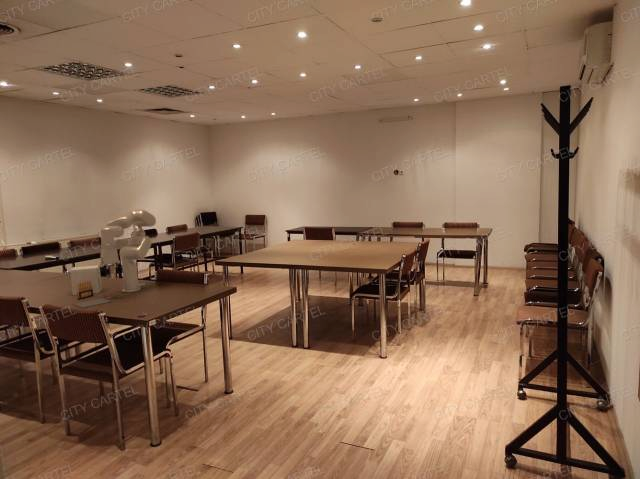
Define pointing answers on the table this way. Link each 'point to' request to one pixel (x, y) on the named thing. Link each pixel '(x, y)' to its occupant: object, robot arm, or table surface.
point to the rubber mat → (92, 303)
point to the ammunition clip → (84, 290)
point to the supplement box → (86, 277)
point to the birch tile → (112, 272)
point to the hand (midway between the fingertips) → (111, 273)
